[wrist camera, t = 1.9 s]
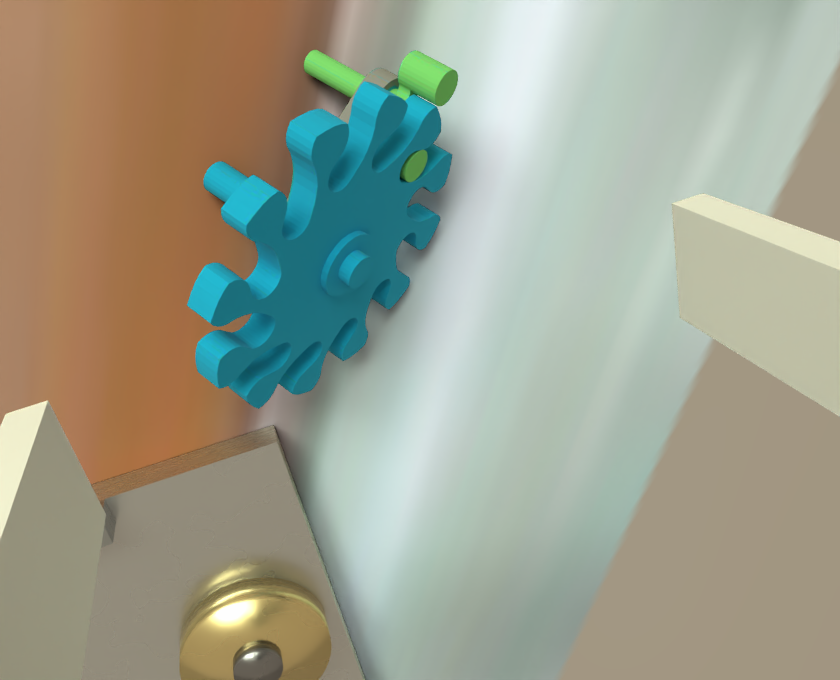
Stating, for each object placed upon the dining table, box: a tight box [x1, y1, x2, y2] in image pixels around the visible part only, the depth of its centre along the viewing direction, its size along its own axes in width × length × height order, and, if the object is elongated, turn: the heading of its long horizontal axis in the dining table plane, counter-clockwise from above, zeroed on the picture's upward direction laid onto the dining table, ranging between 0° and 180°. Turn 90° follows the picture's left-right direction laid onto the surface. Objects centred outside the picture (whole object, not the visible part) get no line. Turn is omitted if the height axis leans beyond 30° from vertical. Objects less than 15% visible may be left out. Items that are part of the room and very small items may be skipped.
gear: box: [187, 50, 458, 409], centre depth 23 cm, size 11×6×10 cm
